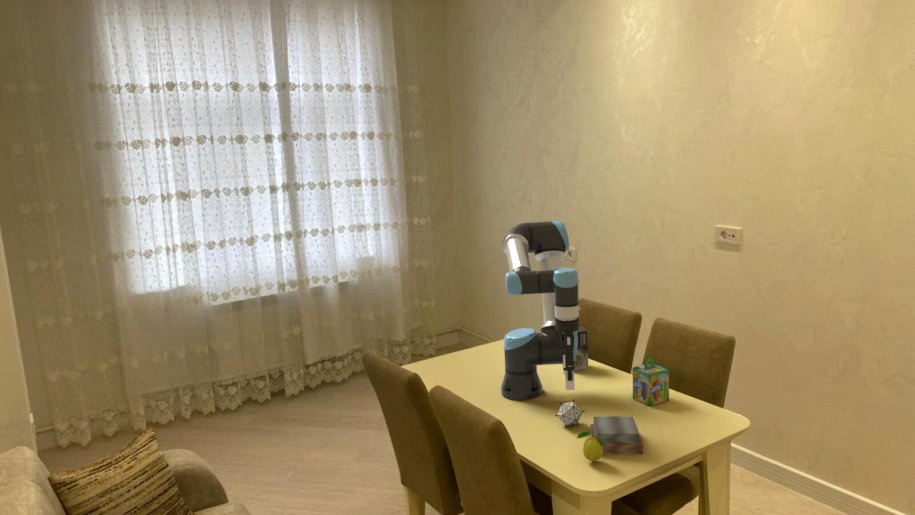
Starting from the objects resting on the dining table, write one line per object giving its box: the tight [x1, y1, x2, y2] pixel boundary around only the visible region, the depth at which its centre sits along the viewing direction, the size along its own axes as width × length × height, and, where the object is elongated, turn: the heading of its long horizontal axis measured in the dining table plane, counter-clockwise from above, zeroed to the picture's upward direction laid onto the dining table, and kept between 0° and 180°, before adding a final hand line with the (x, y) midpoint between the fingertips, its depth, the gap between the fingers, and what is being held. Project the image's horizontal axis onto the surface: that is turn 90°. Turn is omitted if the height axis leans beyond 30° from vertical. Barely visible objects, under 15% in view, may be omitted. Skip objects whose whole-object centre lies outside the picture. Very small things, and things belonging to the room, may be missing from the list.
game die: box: [554, 399, 586, 429], centre depth 216 cm, size 9×8×10 cm
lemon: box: [576, 430, 607, 463], centre depth 191 cm, size 7×6×10 cm
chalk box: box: [631, 357, 670, 407], centre depth 232 cm, size 9×9×15 cm
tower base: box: [589, 415, 644, 455], centre depth 202 cm, size 14×14×6 cm
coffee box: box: [574, 325, 589, 372], centre depth 267 cm, size 9×6×16 cm
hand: (568, 381), depth 214 cm, fingers open, 13 cm apart
